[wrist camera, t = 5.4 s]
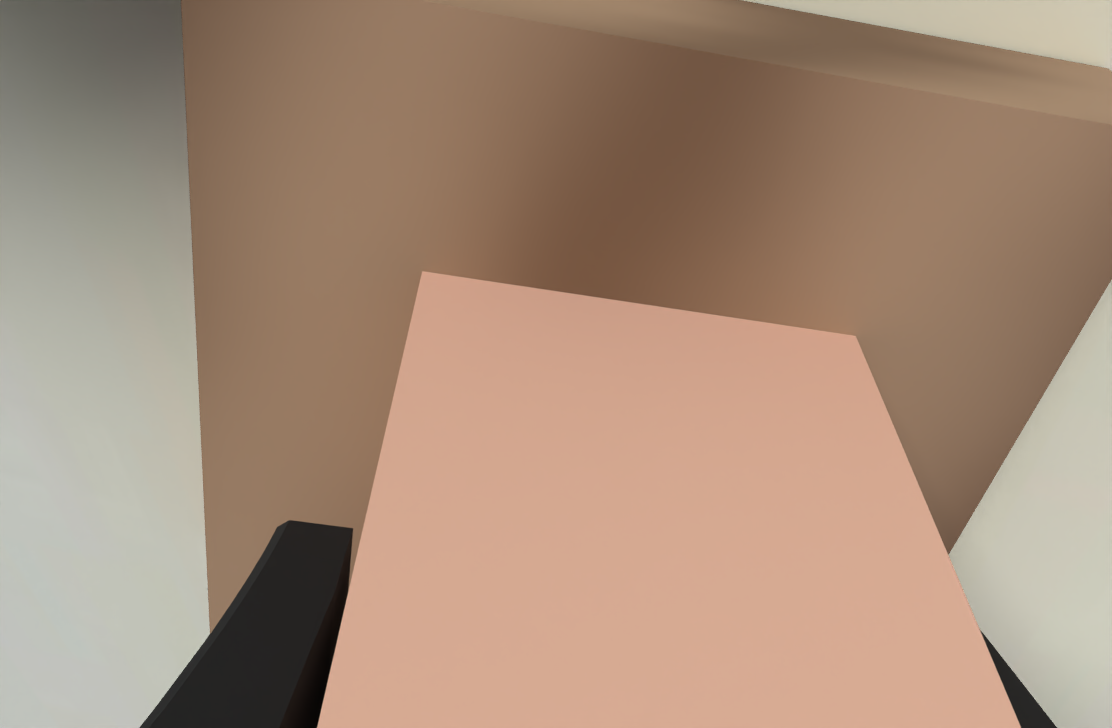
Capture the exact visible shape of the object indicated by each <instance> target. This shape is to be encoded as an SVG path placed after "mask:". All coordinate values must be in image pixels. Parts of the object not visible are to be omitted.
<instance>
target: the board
mask: <svg viewBox="0 0 1112 728" xmlns="http://www.w3.org/2000/svg"><path fill="white" fill-rule="evenodd" d="M181 13H182V35H183V56H184V78H185V100H186V122H187V143H188V165H189V187H190V209H191V230H192V252H193V274H194V295H195V317H196V339H197V361H198V382H199V404H200V426H201V448H202V469H203V491H204V513H205V535H206V556H207V578H208V600H209V622H210V634H211V632H212V631H213V629H214V628H215V626H216V625H217V623H218V622H219V620H220V619H221V618H222V616H223V615H224V613H225V612H226V610H227V609H228V607H229V606H230V604H231V603H232V602H233V600H234V598H235V597H236V595H237V594H238V592H239V591H240V589H241V588H242V586H243V585H244V583H245V582H246V580H247V578H248V577H249V575H250V574H251V572H252V570H253V569H254V567H255V565H256V564H257V562H258V560H259V559H260V557H261V555H262V554H263V552H264V550H265V549H266V547H267V545H268V543H269V541H270V539H271V537H272V536H273V534H274V532H275V530H276V528H277V527H278V526H280V525H281V524H283V523H285V522H287V521H289V520H293V521H301V522H309V523H317V524H324V525H332V526H340V527H347V528H353V538H352V550H351V563H350V576H349V587H350V583H351V578H352V574H353V570H354V565H355V561H356V557H357V552H358V548H359V544H360V539H361V535H362V531H363V526H364V522H365V517H366V513H367V509H368V504H369V500H370V496H371V491H372V487H373V483H374V478H375V474H376V470H377V465H378V461H379V457H380V452H381V448H382V444H383V439H384V435H385V431H386V426H387V422H388V418H389V413H390V409H391V405H392V400H393V396H394V392H395V387H396V383H397V379H398V374H399V370H400V366H401V361H402V357H403V353H404V348H405V344H406V340H407V335H408V331H409V326H410V322H411V318H412V313H413V309H414V305H415V300H416V296H417V292H418V287H419V283H420V279H421V274H422V271H424V272H431V273H437V274H444V275H451V276H458V277H464V278H471V279H478V280H484V281H491V282H498V283H504V284H511V285H518V286H525V287H531V288H538V289H545V290H551V291H558V292H565V293H571V294H578V295H585V296H592V297H598V298H605V299H612V300H618V301H625V302H632V303H638V304H645V305H652V306H659V307H665V308H672V309H679V310H685V311H692V312H699V313H706V314H712V315H719V316H726V317H732V318H739V319H746V320H752V321H759V322H766V323H773V324H779V325H786V326H793V327H799V328H806V329H813V330H819V331H826V332H833V333H840V334H846V335H853V336H856V338H857V340H858V342H859V345H860V347H861V350H862V352H863V354H864V357H865V359H866V361H867V364H868V366H869V369H870V371H871V373H872V376H873V378H874V380H875V383H876V385H877V387H878V390H879V392H880V395H881V397H882V399H883V402H884V404H885V406H886V409H887V411H888V414H889V416H890V418H891V421H892V423H893V425H894V428H895V430H896V432H897V435H898V437H899V440H900V442H901V444H902V447H903V449H904V451H905V454H906V456H907V459H908V461H909V463H910V466H911V468H912V470H913V473H914V475H915V477H916V480H917V482H918V485H919V487H920V489H921V492H922V494H923V496H924V499H925V501H926V504H927V506H928V508H929V511H930V513H931V515H932V518H933V520H934V522H935V525H936V527H937V530H938V532H939V534H940V537H941V539H942V541H943V544H944V546H945V549H946V551H947V553H948V555H949V553H950V551H951V549H952V548H953V546H954V544H955V543H956V541H957V539H958V538H959V536H960V534H961V533H962V531H963V529H964V528H965V526H966V524H967V522H968V521H969V519H970V517H971V516H972V514H973V512H974V511H975V509H976V507H977V506H978V504H979V502H980V500H981V499H982V497H983V495H984V494H985V492H986V490H987V489H988V487H989V485H990V484H991V482H992V480H993V479H994V477H995V475H996V473H997V472H998V470H999V468H1000V467H1001V465H1002V463H1003V462H1004V460H1005V458H1006V457H1007V455H1008V453H1009V452H1010V450H1011V448H1012V446H1013V445H1014V443H1015V441H1016V440H1017V438H1018V436H1019V435H1020V433H1021V431H1022V430H1023V428H1024V426H1025V424H1026V423H1027V421H1028V419H1029V418H1030V416H1031V414H1032V413H1033V411H1034V409H1035V408H1036V406H1037V404H1038V403H1039V401H1040V399H1041V397H1042V396H1043V394H1044V392H1045V391H1046V389H1047V387H1048V386H1049V384H1050V382H1051V381H1052V379H1053V377H1054V376H1055V374H1056V372H1057V370H1058V369H1059V367H1060V365H1061V364H1062V362H1063V360H1064V359H1065V357H1066V355H1067V354H1068V352H1069V350H1070V348H1071V347H1072V345H1073V343H1074V342H1075V340H1076V338H1077V337H1078V335H1079V333H1080V332H1081V330H1082V328H1083V327H1084V325H1085V323H1086V321H1087V320H1088V318H1089V316H1090V315H1091V313H1092V311H1093V310H1094V308H1095V306H1096V305H1097V303H1098V301H1099V300H1100V298H1101V296H1102V294H1103V293H1104V291H1105V289H1106V288H1107V286H1108V284H1109V283H1110V281H1111V279H1112V71H1110V70H1109V69H1108V68H1102V67H1097V66H1091V65H1086V64H1081V63H1075V62H1070V61H1064V60H1059V59H1054V58H1048V57H1043V56H1038V55H1032V54H1027V53H1021V52H1016V51H1011V50H1005V49H1000V48H994V47H989V46H984V45H978V44H973V43H968V42H962V41H957V40H951V39H946V38H941V37H935V36H930V35H924V34H919V33H914V32H908V31H903V30H898V29H892V28H887V27H881V26H876V25H871V24H865V23H860V22H854V21H849V20H844V19H838V18H833V17H828V16H822V15H817V14H811V13H806V12H801V11H795V10H790V9H784V8H779V7H774V6H768V5H763V4H758V3H752V2H747V1H741V0H181ZM348 591H349V589H348Z"/></svg>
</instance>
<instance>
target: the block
mask: <svg viewBox="0 0 1112 728" xmlns="http://www.w3.org/2000/svg"><path fill="white" fill-rule="evenodd" d="M317 728H1021V726H1020V724H1019V721H1018V719H1017V717H1016V714H1015V712H1014V710H1013V707H1012V705H1011V703H1010V700H1009V698H1008V695H1007V693H1006V691H1005V688H1004V686H1003V684H1002V681H1001V679H1000V676H999V674H998V672H997V669H996V667H995V665H994V662H993V660H992V658H991V655H990V653H989V650H988V648H987V646H986V643H985V641H984V639H983V636H982V634H981V631H980V629H979V627H978V624H977V622H976V620H975V617H974V615H973V613H972V610H971V608H970V605H969V603H968V601H967V598H966V596H965V594H964V591H963V589H962V586H961V584H960V582H959V579H958V577H957V575H956V572H955V570H954V568H953V565H952V563H951V560H950V558H949V556H948V553H947V551H946V549H945V546H944V544H943V541H942V539H941V537H940V534H939V532H938V530H937V527H936V525H935V522H934V520H933V518H932V515H931V513H930V511H929V508H928V506H927V504H926V501H925V499H924V496H923V494H922V492H921V489H920V487H919V485H918V482H917V480H916V477H915V475H914V473H913V470H912V468H911V466H910V463H909V461H908V459H907V456H906V454H905V451H904V449H903V447H902V444H901V442H900V440H899V437H898V435H897V432H896V430H895V428H894V425H893V423H892V421H891V418H890V416H889V414H888V411H887V409H886V406H885V404H884V402H883V399H882V397H881V395H880V392H879V390H878V387H877V385H876V383H875V380H874V378H873V376H872V373H871V371H870V369H869V366H868V364H867V361H866V359H865V357H864V354H863V352H862V350H861V347H860V345H859V342H858V340H857V338H856V336H853V335H846V334H840V333H833V332H826V331H819V330H813V329H806V328H799V327H793V326H786V325H779V324H773V323H766V322H759V321H752V320H746V319H739V318H732V317H726V316H719V315H712V314H706V313H699V312H692V311H685V310H679V309H672V308H665V307H659V306H652V305H645V304H638V303H632V302H625V301H618V300H612V299H605V298H598V297H592V296H585V295H578V294H571V293H565V292H558V291H551V290H545V289H538V288H531V287H525V286H518V285H511V284H504V283H498V282H491V281H484V280H478V279H471V278H464V277H458V276H451V275H444V274H437V273H431V272H424V271H422V274H421V279H420V283H419V287H418V292H417V296H416V300H415V305H414V309H413V313H412V318H411V322H410V326H409V331H408V335H407V340H406V344H405V348H404V353H403V357H402V361H401V366H400V370H399V374H398V379H397V383H396V387H395V392H394V396H393V400H392V405H391V409H390V413H389V418H388V422H387V426H386V431H385V435H384V439H383V444H382V448H381V452H380V457H379V461H378V465H377V470H376V474H375V478H374V483H373V487H372V491H371V496H370V500H369V504H368V509H367V513H366V517H365V522H364V526H363V531H362V535H361V539H360V544H359V548H358V552H357V557H356V561H355V565H354V570H353V574H352V578H351V583H350V587H349V591H348V596H347V600H346V604H345V609H344V613H343V617H342V622H341V626H340V630H339V635H338V639H337V643H336V648H335V652H334V656H333V661H332V665H331V669H330V674H329V678H328V682H327V687H326V691H325V695H324V700H323V704H322V709H321V713H320V717H319V722H318V726H317Z"/></svg>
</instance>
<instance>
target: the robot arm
mask: <svg viewBox="0 0 1112 728" xmlns="http://www.w3.org/2000/svg"><path fill="white" fill-rule="evenodd" d="M352 538H353V528H347V527H340V526H332V525H324V524H317V523H309V522H301V521H293V520H289V521H287V522H285V523H283V524H281V525H280V526H278V527H277V528H276V530H275V532H274V534H273V536H272V537H271V539H270V541H269V543H268V545H267V547H266V549H265V550H264V552H263V554H262V555H261V557H260V559H259V560H258V562H257V564H256V565H255V567H254V569H253V570H252V572H251V574H250V575H249V577H248V578H247V580H246V582H245V583H244V585H243V586H242V588H241V589H240V591H239V592H238V594H237V595H236V597H235V598H234V600H233V602H232V603H231V604H230V606H229V607H228V609H227V610H226V612H225V613H224V615H223V616H222V618H221V619H220V620H219V622H218V623H217V625H216V626H215V628H214V629H213V631H212V632H211V634H210V635H209V636H208V638H207V639H206V641H205V642H204V643H203V645H202V646H201V647H200V649H199V650H198V651H197V653H196V654H195V655H194V657H193V658H192V659H191V661H190V662H189V663H188V665H187V666H186V667H185V669H184V670H183V671H182V673H181V674H180V675H179V677H178V678H177V679H176V681H175V682H174V684H173V685H172V686H171V688H170V689H169V690H168V692H167V693H166V694H165V696H164V697H163V698H162V700H161V701H160V702H159V704H158V705H157V706H156V707H155V709H154V710H153V711H152V713H151V714H150V715H149V716H148V718H147V719H146V720H145V721H144V723H143V724H142V725H141V726H140V728H317V726H318V722H319V717H320V713H321V709H322V704H323V700H324V695H325V691H326V687H327V682H328V678H329V674H330V669H331V665H332V661H333V656H334V652H335V648H336V643H337V639H338V635H339V630H340V626H341V622H342V617H343V613H344V609H345V604H346V600H347V596H348V589H349V576H350V563H351V550H352ZM980 631H981V630H980ZM981 634H982V636H983V639H984V641H985V643H986V646H987V648H988V650H989V653H990V655H991V658H992V660H993V662H994V665H995V667H996V669H997V672H998V674H999V676H1000V679H1001V681H1002V684H1003V686H1004V688H1005V691H1006V693H1007V695H1008V698H1009V700H1010V703H1011V705H1012V707H1013V710H1014V712H1015V714H1016V717H1017V719H1018V721H1019V724H1020V726H1021V728H1057V727H1056V726H1055V725H1054V723H1053V722H1052V721H1051V720H1050V718H1049V717H1048V716H1047V714H1046V713H1045V712H1044V711H1043V709H1042V708H1041V707H1040V705H1039V704H1038V703H1037V702H1036V700H1035V699H1034V698H1033V697H1032V695H1031V694H1030V693H1029V691H1028V690H1027V689H1026V688H1025V686H1024V685H1023V684H1022V682H1021V681H1020V680H1019V679H1018V677H1017V676H1016V675H1015V673H1014V672H1013V671H1012V670H1011V668H1010V667H1009V666H1008V665H1007V663H1006V662H1005V661H1004V659H1003V658H1002V657H1001V656H1000V654H999V653H998V652H997V650H996V649H995V648H994V647H993V645H992V644H991V643H990V642H989V640H988V639H987V638H986V637H985V635H984V634H983V633H982V632H981Z"/></svg>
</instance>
